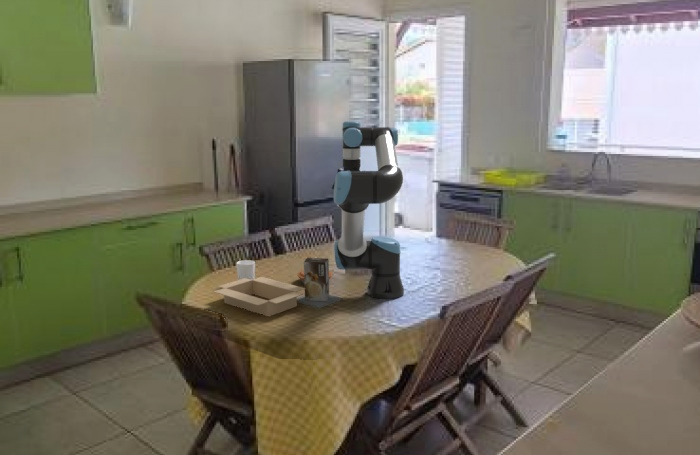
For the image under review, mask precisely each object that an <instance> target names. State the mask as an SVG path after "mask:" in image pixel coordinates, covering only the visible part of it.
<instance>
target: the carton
mask: <svg viewBox="0 0 700 455" xmlns="http://www.w3.org/2000/svg"><path fill="white" fill-rule="evenodd" d="M218 288H221V289H217V290H214V291H213V293H216V294H218V295H222V296H223V300H224V302H223V303H225V304H227V305H230V306H233V307H236V306H237V308H239V307H240V308H239V309H242V308H244V309H243V310H245V309H247V310H246V311H249V310H250V311H249V312H252V311H253V312H252V313H255V312H257V313H256V314H258V313H260V314H259V315H261V314H263V315H262V316H264V315H266V316H265V317H267V316H269V317H271V315H272V316H274V315H277V314H280V313H282V312H285V311H288V310H290V309H293V308H296V307H298V302H297V298H299V297H301V296H304V294H303V293H302V292H301V291H305V287H302V286H297V285H294V284H290V283H287V282H283V281H278V280H275V279H272V278H271V279H270V278H267V277H264V276H260V277H255V279H253V280H250V279H246V278H244V279H240V280H238V279H237V280H234V281H231V282H227V283H224V284H221V285H218ZM254 294H255V296H253V295H254ZM257 296H258V297H257ZM259 297H260V298H259ZM261 297H262V298H261ZM263 298H265V299H263ZM267 299H268V300H267Z"/></svg>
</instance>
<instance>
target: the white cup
mask: <svg viewBox="0 0 700 455" xmlns="http://www.w3.org/2000/svg"><path fill="white" fill-rule="evenodd" d="M236 274H237V280H240V279H244V278H246V279H250V280H253V279H256V262H255V260H253V259H252V260H250V259H249V260H248V259H245V260H239V261H237V262H236Z"/></svg>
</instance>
